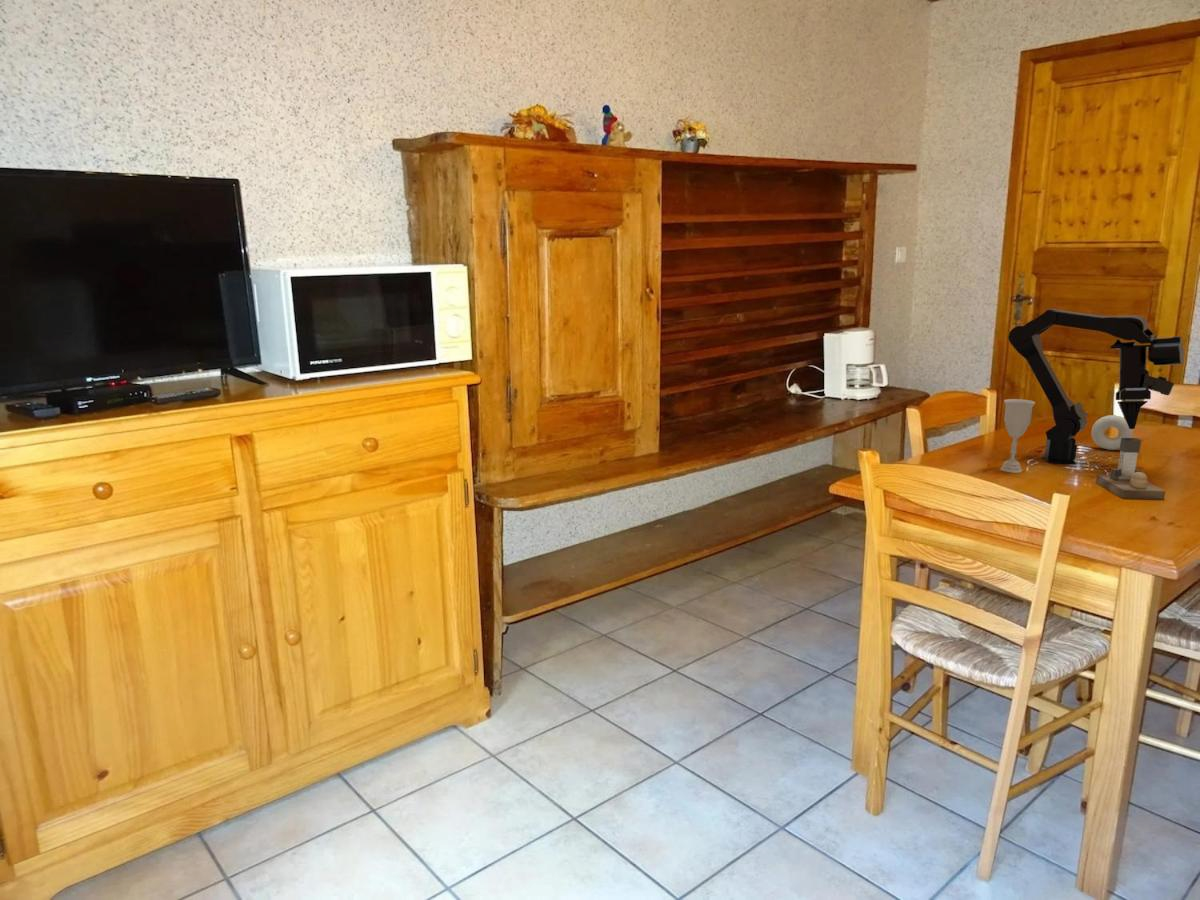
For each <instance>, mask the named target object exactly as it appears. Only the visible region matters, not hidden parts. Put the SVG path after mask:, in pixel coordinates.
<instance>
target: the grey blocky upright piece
mask: <svg viewBox="0 0 1200 900" xmlns="http://www.w3.org/2000/svg"><path fill="white" fill-rule="evenodd" d="M1141 443H1142V439H1139V438H1138V437H1132V438H1121V443H1120V449H1118V450H1119V451H1120V453H1119V458H1118V464H1117V465H1118V466H1117V469H1118V470H1120V472H1119V476H1121V477H1131V476H1132V475H1133V474H1134V473H1135V469H1136V468H1137V467H1136V466H1137V460H1138V454H1140V451H1141V450H1140V449H1141Z"/></svg>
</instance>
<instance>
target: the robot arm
mask: <svg viewBox="0 0 1200 900" xmlns="http://www.w3.org/2000/svg"><path fill="white" fill-rule="evenodd" d="M1053 326H1062V327H1068V328H1076V329H1083V330H1088V331H1089V330H1090V331H1097V332H1101V333H1104V334H1107V335H1110V336H1112V337H1115V338H1119V339H1117V340H1116V341H1115V342H1114V343H1113V344H1112V345H1110V348H1109V349H1111V350H1119V362H1118V363H1119V365H1118V366H1119V370H1118V376H1119V377H1118V378H1119V380H1118V383H1119V384H1118V390H1117V391H1116V392H1115V401H1117V404H1118V407H1119V409H1120V411H1121V413H1122V416H1123V418H1124V419H1125V420H1126V422H1127V425H1128V427H1129V429H1133V430H1135V429H1136V424H1137V421H1138V417H1139V414H1140V410H1141V407H1144V405H1145V404H1147V403H1148V400H1151V398H1152V393H1151V391H1154V392H1157V393H1160V394H1161V395H1164V396H1169V395H1170V394H1171V392H1172V390H1173V387H1174V385H1175V382H1172V381H1168V380H1167V377H1163V376H1161V375H1160V376H1158V377H1154V376H1150V372H1149V370H1148V369H1147V366H1148V365H1147V363H1148V362H1150V363H1153V365H1154V366H1172V365H1174V366H1175V365H1178V366H1179V365H1183V363H1184V359H1185V348H1184V345H1183V341H1182V336H1180V335H1179V336H1176V335H1175V336H1172V337H1158V336H1157V335H1156V334H1155V333H1153V331H1152V330H1151V329H1150V328H1149V323H1148V321H1147V319H1146V318H1145V317H1144V316H1141V315H1135V314H1134V315H1132V314H1131V315H1128V314H1127V315H1112V316H1111V315H1109V316H1108V315H1107V316H1106V315H1100V314H1093V313H1085V312H1076V311H1069V310H1061V309H1059V308H1050V309H1047V310H1045V311H1044V312H1043V313H1042V314H1040V315H1038V316H1037V317H1035V318H1033V319H1032V320H1030V321H1029V322H1026V324H1021V325H1018V326H1015V327H1013V328H1012V329H1011V330H1010V331H1009V333H1008V338H1007V339H1008V341H1009V343H1010V344H1011V346H1012V347H1013V348H1014V350H1015V352H1017V353H1018V354H1019V355H1020V356H1022V357H1023V359H1025V360H1026V362H1027V364H1028V365H1029V367H1030V369H1031V371H1032V373H1033V374H1034V376H1035V379H1036V380H1037V381H1038V384H1039V385H1040V388H1041V389H1042V391H1043V393H1044V395H1045V397H1046V398H1047V401H1048V402H1049V403H1050V406H1051V410H1052V416H1053V420H1054V423H1055V425H1054V426H1052V427H1051V428H1049V429H1048V430H1046V431H1045V434H1046V435H1045V436H1046V440H1045V448H1044V449H1045V450H1044V454H1042V455H1041V457H1042V458H1043V459H1044V458H1045V459H1044V460H1046V461H1047V462H1048V463H1052V464H1053V463H1054V464H1076V457H1077V451H1078V445H1077V444H1076V442H1077V439H1076V438H1075V437H1076V436H1077V434H1078V433H1080V432H1081V431H1083V430H1084V429H1085V428H1086V427H1087V425H1088V419H1087V416H1088V413H1087V412H1086V411H1085V410H1084V407H1083V405H1082V403H1081V401H1078V402H1076V403H1074V401H1072V400H1071V399H1070V398H1069V397H1068V394H1067V393H1066V391H1065V389H1064V387H1063V386H1062V384H1061V382H1060V380H1059V379H1058V376H1057V374H1056V373H1055V372H1054V370H1053V368H1052V365H1051V364H1050V362H1049V361H1048V358H1047V357H1046V354H1045V353H1044V351H1043V350H1044V349H1043V342H1042V339H1041V334H1043V333H1045V332H1046V331H1048V330H1049V329H1050V328H1052V327H1053ZM1122 340H1125V341H1124V342H1123V341H1122ZM1147 350H1148V351H1147ZM1147 353H1148V354H1147ZM1147 356H1148V359H1147ZM1147 360H1148V362H1147Z"/></svg>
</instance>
